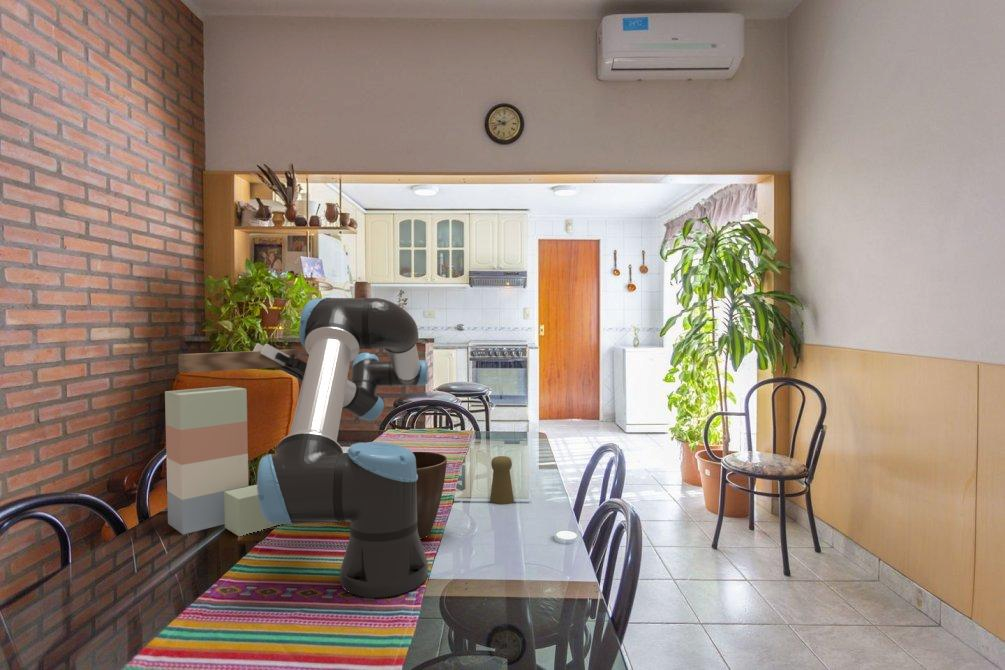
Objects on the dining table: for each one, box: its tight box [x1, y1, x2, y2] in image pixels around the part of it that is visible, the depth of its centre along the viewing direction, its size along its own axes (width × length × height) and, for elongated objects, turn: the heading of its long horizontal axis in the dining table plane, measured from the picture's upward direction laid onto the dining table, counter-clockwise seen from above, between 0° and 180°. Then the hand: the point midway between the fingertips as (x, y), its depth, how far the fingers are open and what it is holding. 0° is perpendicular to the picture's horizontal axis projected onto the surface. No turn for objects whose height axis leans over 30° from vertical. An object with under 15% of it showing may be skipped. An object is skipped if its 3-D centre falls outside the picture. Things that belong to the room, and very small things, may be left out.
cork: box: [489, 455, 515, 505], centre depth 142 cm, size 6×6×11 cm
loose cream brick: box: [224, 484, 278, 537], centre depth 126 cm, size 12×8×8 cm, turn 137°
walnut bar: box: [177, 349, 298, 374], centre depth 134 cm, size 26×4×4 cm, turn 137°
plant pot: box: [411, 451, 448, 539], centre depth 119 cm, size 15×15×16 cm
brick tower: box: [164, 385, 249, 535], centre depth 129 cm, size 14×10×30 cm
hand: (259, 348), depth 137 cm, fingers closed on walnut bar, 4 cm apart
